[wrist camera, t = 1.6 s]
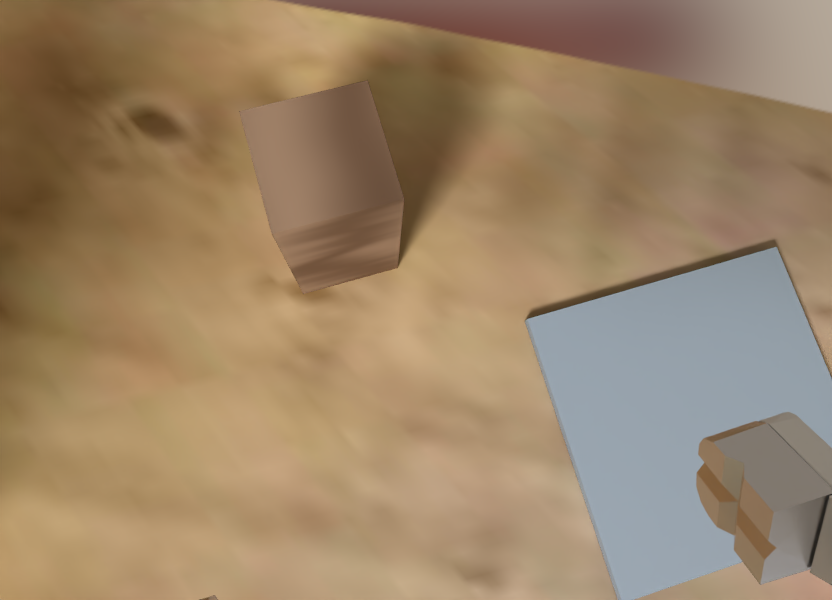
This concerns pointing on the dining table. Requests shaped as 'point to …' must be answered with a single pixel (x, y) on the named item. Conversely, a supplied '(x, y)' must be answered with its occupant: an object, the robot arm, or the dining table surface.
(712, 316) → the slate board
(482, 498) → the dining table surface
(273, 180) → the walnut block
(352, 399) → the dining table surface
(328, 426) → the dining table surface
